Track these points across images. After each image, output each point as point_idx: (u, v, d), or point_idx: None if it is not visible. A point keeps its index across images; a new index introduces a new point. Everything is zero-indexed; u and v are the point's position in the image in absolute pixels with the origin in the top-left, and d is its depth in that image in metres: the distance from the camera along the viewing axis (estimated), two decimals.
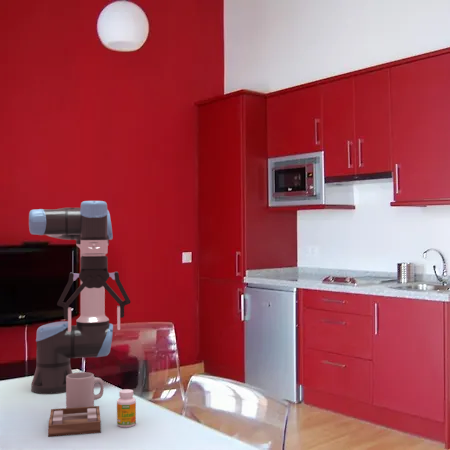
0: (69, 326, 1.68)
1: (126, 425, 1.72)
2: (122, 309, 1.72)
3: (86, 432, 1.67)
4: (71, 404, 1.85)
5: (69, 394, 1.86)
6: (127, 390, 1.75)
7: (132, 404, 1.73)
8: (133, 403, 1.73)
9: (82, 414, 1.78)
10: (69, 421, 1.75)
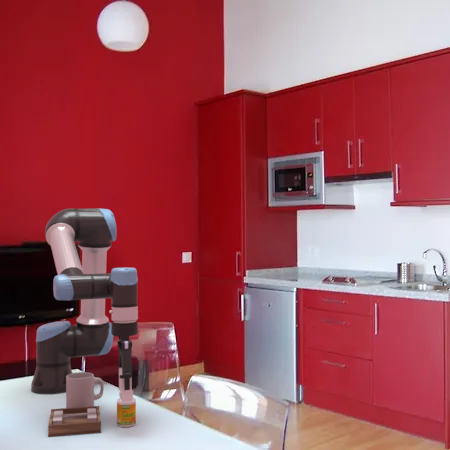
0: None
1: (126, 425, 1.72)
2: (124, 381, 1.66)
3: (86, 432, 1.67)
4: (71, 404, 1.85)
5: (69, 394, 1.86)
6: None
7: (132, 404, 1.73)
8: (133, 403, 1.73)
9: (82, 414, 1.78)
10: (69, 421, 1.75)
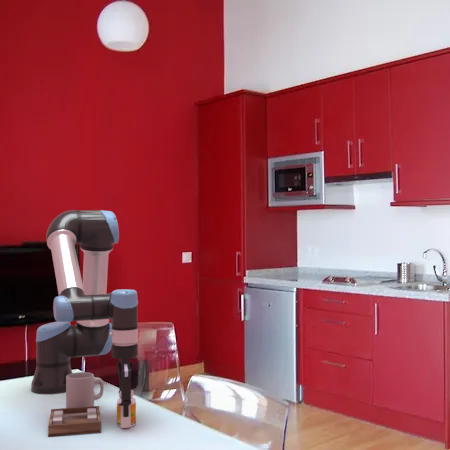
0: None
1: None
2: (123, 408, 1.70)
3: (86, 432, 1.67)
4: (71, 404, 1.85)
5: (69, 394, 1.86)
6: None
7: (132, 404, 1.72)
8: (133, 403, 1.73)
9: (82, 414, 1.78)
10: (69, 421, 1.75)
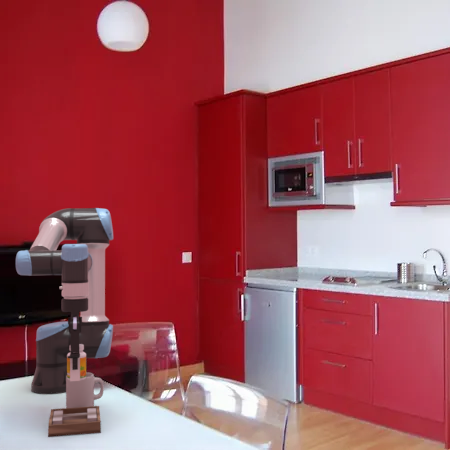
0: None
1: None
2: None
3: (86, 432, 1.67)
4: (71, 404, 1.85)
5: (69, 394, 1.86)
6: None
7: (82, 358, 1.72)
8: (83, 357, 1.72)
9: (82, 414, 1.78)
10: (69, 421, 1.75)
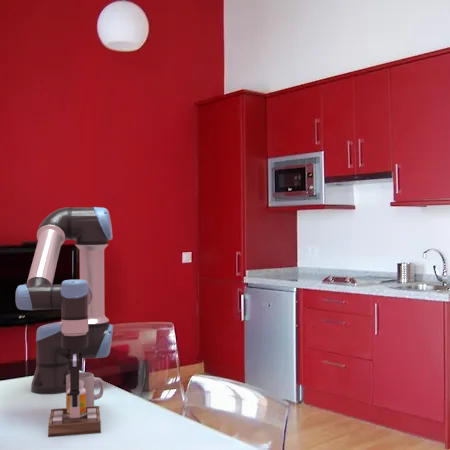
0: None
1: None
2: (72, 398, 1.70)
3: (86, 432, 1.67)
4: None
5: None
6: None
7: (82, 394, 1.72)
8: (83, 393, 1.72)
9: None
10: (69, 421, 1.75)
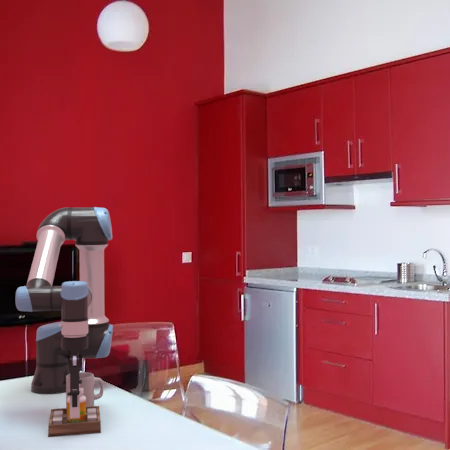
0: None
1: None
2: (72, 398, 1.67)
3: (86, 432, 1.67)
4: None
5: None
6: None
7: (82, 402, 1.72)
8: (83, 401, 1.72)
9: None
10: None
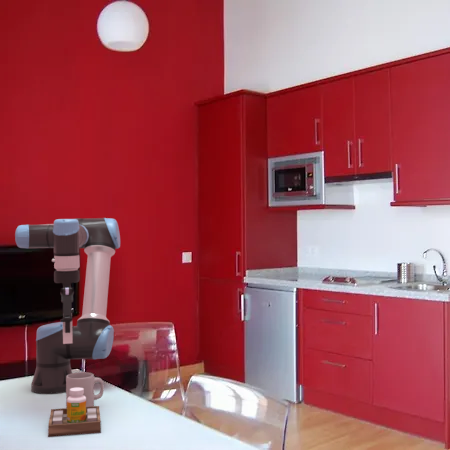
0: None
1: None
2: (65, 325, 1.77)
3: (86, 432, 1.67)
4: None
5: (69, 394, 1.86)
6: (77, 388, 1.74)
7: (82, 402, 1.72)
8: (83, 401, 1.72)
9: None
10: None
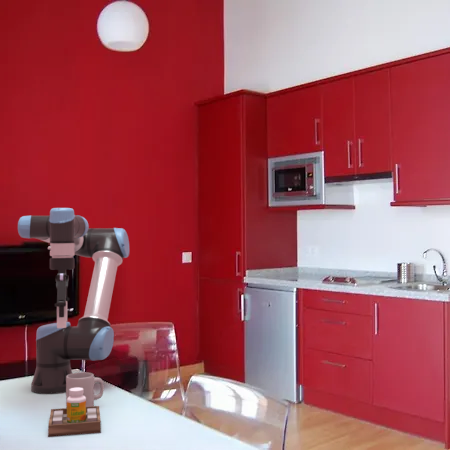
0: None
1: None
2: (59, 309, 1.82)
3: (86, 432, 1.67)
4: None
5: None
6: (77, 388, 1.74)
7: (81, 402, 1.72)
8: (83, 401, 1.72)
9: None
10: None
